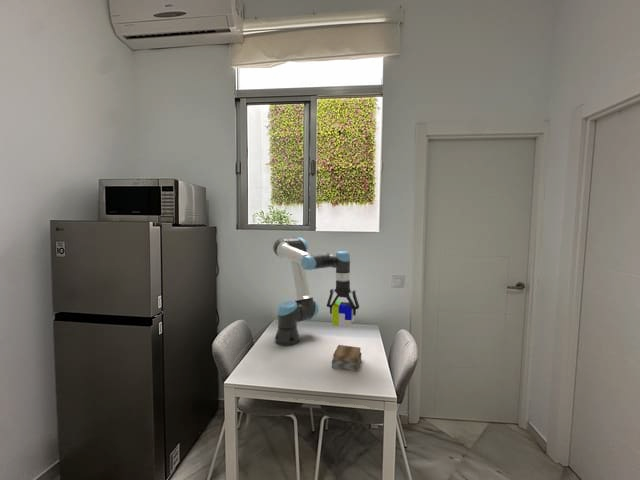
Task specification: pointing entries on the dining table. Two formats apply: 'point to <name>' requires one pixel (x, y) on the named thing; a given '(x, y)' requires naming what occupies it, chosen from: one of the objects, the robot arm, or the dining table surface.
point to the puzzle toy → (342, 314)
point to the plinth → (346, 365)
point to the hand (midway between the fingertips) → (342, 320)
